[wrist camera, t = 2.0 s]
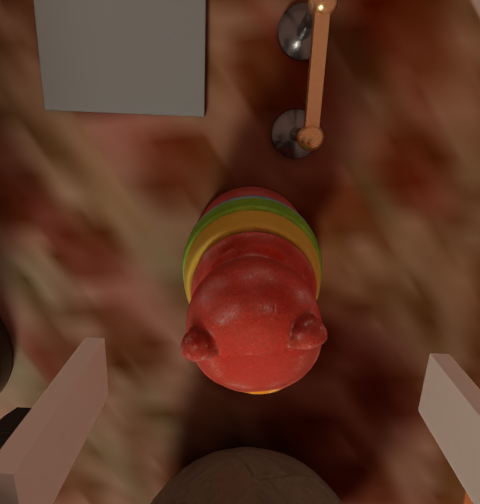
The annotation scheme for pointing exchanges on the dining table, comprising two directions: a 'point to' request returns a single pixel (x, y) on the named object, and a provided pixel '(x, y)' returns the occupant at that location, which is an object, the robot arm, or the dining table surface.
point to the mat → (123, 55)
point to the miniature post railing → (303, 48)
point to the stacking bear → (252, 292)
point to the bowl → (246, 480)
